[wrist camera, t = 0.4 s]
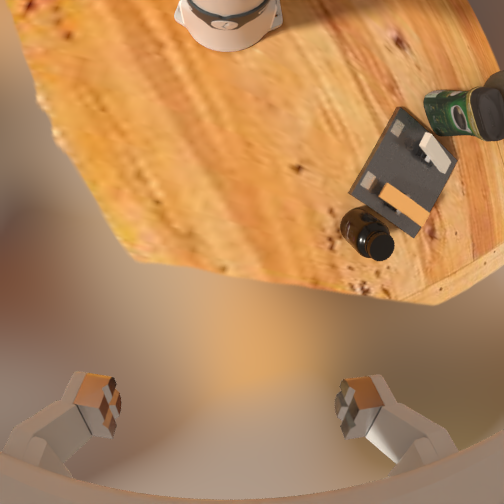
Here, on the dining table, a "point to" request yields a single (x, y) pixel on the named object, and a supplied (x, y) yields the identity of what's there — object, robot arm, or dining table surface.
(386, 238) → the supplement bottle
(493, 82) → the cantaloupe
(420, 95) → the dining table surface
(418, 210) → the paddle
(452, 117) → the coffee jar
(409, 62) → the dining table surface
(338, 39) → the dining table surface
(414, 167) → the panel
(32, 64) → the dining table surface
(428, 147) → the paddle
